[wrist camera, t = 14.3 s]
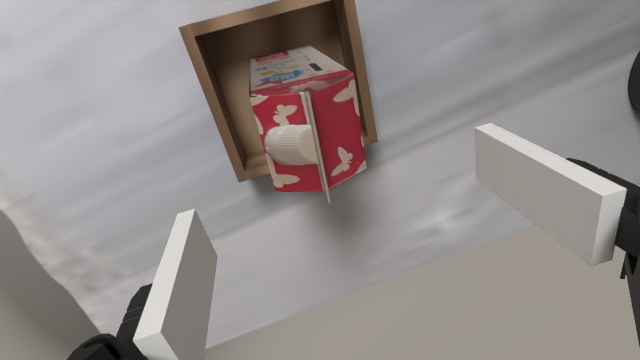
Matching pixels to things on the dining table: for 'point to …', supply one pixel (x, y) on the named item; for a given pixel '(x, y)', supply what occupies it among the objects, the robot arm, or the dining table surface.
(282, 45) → the walled box
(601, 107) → the dining table surface
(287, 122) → the juice carton
